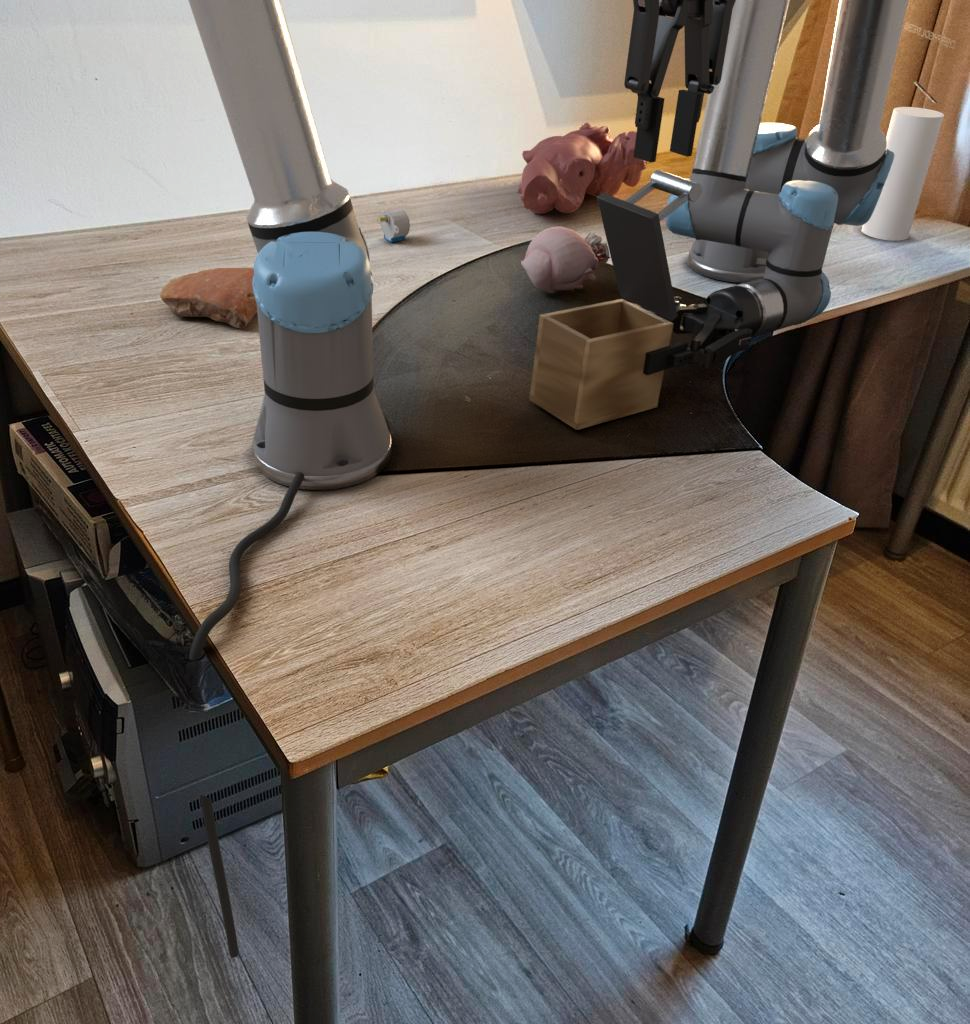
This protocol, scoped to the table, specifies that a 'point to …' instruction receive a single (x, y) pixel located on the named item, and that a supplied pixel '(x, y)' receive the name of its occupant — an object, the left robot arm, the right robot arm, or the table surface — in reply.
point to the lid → (644, 242)
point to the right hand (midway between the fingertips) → (618, 349)
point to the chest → (597, 362)
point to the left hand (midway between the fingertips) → (662, 155)
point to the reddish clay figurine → (578, 168)
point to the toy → (563, 259)
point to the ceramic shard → (213, 295)
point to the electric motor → (394, 225)
